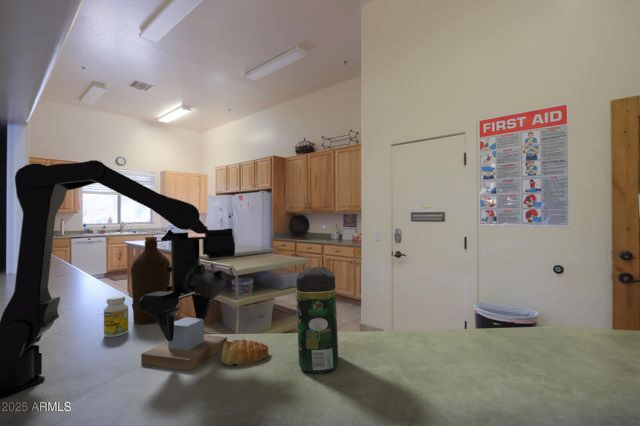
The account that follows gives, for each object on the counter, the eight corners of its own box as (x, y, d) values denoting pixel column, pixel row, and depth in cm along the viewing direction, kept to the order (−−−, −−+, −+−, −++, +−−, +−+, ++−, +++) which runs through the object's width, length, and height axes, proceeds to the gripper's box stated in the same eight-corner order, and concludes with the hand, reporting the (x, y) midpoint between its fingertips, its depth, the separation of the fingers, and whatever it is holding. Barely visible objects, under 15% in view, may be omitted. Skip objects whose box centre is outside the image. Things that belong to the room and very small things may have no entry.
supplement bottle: (132, 329, 82) (132, 294, 83) (122, 337, 77) (122, 299, 78) (110, 331, 82) (110, 295, 82) (99, 338, 76) (99, 300, 77)
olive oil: (176, 313, 97) (175, 235, 98) (161, 324, 86) (160, 237, 87) (142, 315, 96) (142, 236, 97) (123, 326, 86) (122, 238, 87)
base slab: (189, 370, 58) (189, 360, 58) (141, 363, 61) (141, 353, 61) (227, 346, 69) (226, 337, 69) (184, 341, 73) (184, 333, 73)
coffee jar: (299, 353, 64) (297, 265, 65) (337, 352, 64) (334, 264, 65) (296, 376, 55) (293, 272, 55) (340, 374, 55) (336, 271, 55)
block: (187, 350, 62) (187, 326, 62) (168, 348, 64) (168, 324, 64) (203, 341, 67) (203, 318, 67) (185, 339, 68) (185, 317, 69)
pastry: (268, 350, 67) (267, 332, 67) (268, 364, 60) (268, 344, 60) (224, 354, 65) (224, 336, 65) (219, 369, 59) (219, 349, 59)
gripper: (184, 267, 55) (185, 354, 54) (241, 256, 73) (242, 322, 72) (137, 266, 58) (137, 348, 57) (202, 256, 76) (203, 318, 75)
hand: (186, 333), depth 65 cm, fingers open, 9 cm apart
